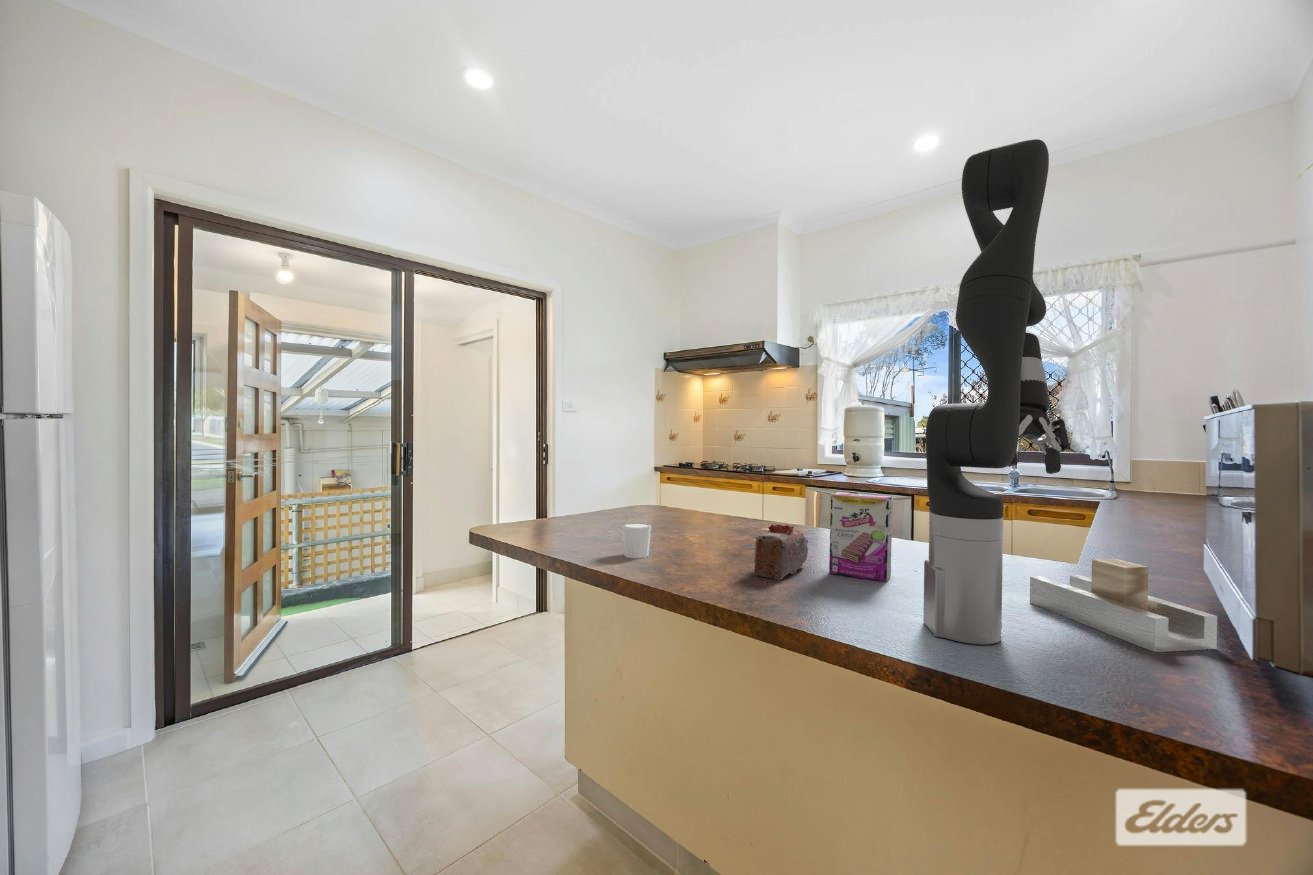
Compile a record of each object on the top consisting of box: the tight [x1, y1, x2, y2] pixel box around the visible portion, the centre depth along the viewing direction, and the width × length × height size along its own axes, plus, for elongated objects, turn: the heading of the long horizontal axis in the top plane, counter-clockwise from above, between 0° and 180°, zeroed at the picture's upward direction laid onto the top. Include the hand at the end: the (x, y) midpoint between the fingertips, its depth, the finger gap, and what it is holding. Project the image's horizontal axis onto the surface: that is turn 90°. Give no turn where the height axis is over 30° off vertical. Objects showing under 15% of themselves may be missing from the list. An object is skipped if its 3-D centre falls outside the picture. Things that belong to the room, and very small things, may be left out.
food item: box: [754, 524, 809, 581], centre depth 108 cm, size 14×8×10 cm, turn 147°
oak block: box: [1091, 558, 1149, 611], centre depth 79 cm, size 4×5×8 cm
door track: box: [1029, 574, 1218, 653], centre depth 80 cm, size 10×20×4 cm, turn 7°
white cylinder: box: [621, 522, 652, 559], centre depth 121 cm, size 7×7×7 cm
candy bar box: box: [828, 491, 894, 583], centre depth 105 cm, size 11×5×16 cm, turn 58°
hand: (1032, 469), depth 93 cm, fingers open, 8 cm apart
